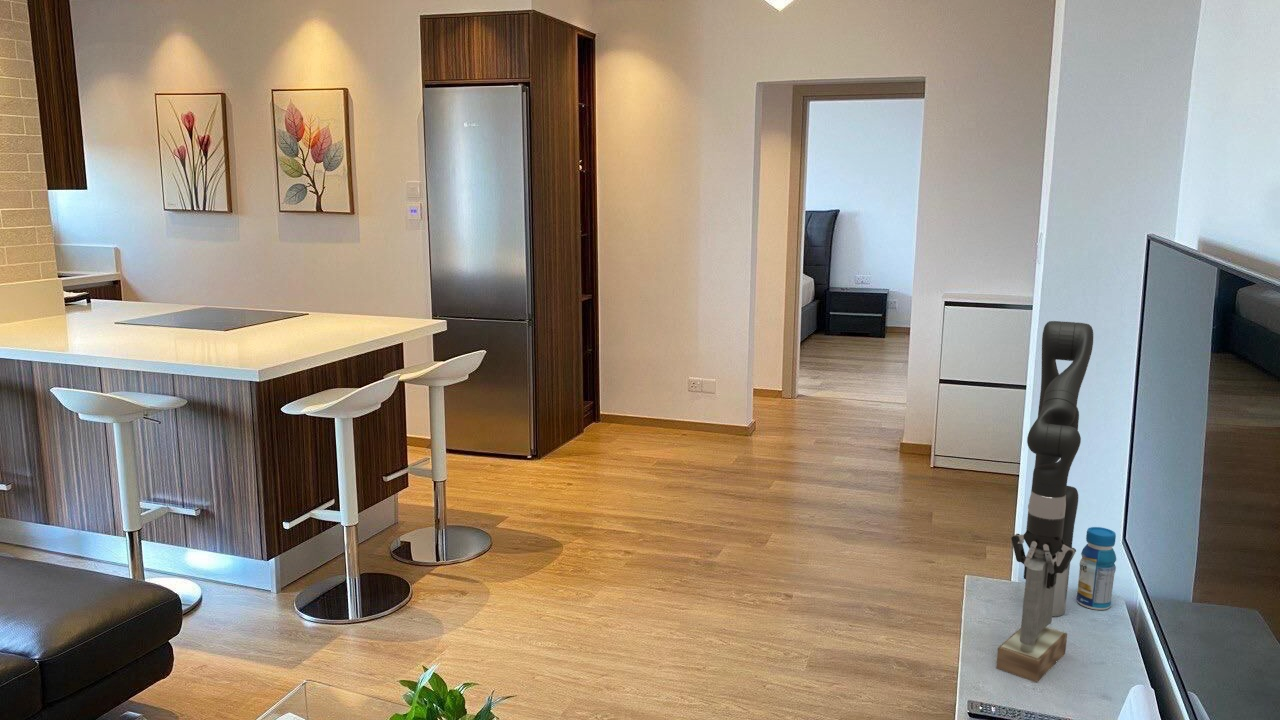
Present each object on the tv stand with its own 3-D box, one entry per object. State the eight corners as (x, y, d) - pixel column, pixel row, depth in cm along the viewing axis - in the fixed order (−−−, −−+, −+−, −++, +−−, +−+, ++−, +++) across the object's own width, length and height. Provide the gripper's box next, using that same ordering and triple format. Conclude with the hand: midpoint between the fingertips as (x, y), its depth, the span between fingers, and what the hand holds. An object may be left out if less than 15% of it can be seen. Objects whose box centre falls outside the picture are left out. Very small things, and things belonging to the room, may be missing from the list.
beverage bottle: (1109, 614, 244) (1117, 539, 240) (1073, 605, 248) (1081, 532, 244) (1113, 602, 251) (1121, 529, 247) (1078, 594, 255) (1086, 522, 251)
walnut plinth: (1026, 640, 228) (1028, 620, 227) (1065, 653, 222) (1067, 632, 222) (996, 668, 215) (998, 646, 214) (1036, 682, 209) (1039, 660, 208)
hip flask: (1032, 646, 210) (1041, 560, 206) (1013, 640, 213) (1022, 555, 209) (1052, 621, 223) (1061, 539, 219) (1034, 616, 225) (1042, 535, 221)
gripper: (1085, 515, 210) (1077, 589, 214) (1020, 500, 220) (1013, 570, 223) (1074, 524, 205) (1065, 599, 208) (1008, 508, 214) (1001, 580, 217)
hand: (1039, 584), depth 215 cm, fingers closed on hip flask, 4 cm apart
